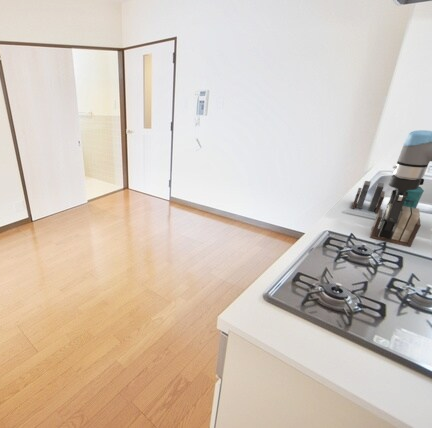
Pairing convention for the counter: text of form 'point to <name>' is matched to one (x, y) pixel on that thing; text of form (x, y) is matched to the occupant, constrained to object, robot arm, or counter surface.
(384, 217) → the cream book
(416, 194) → the beverage bottle
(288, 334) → the counter surface
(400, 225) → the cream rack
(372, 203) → the grey rack
